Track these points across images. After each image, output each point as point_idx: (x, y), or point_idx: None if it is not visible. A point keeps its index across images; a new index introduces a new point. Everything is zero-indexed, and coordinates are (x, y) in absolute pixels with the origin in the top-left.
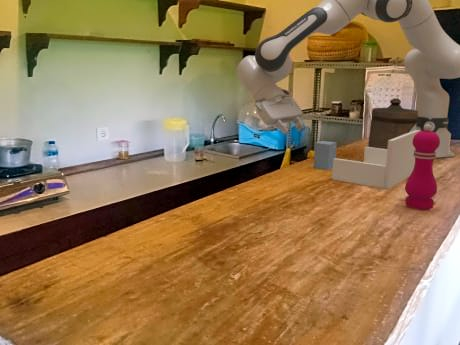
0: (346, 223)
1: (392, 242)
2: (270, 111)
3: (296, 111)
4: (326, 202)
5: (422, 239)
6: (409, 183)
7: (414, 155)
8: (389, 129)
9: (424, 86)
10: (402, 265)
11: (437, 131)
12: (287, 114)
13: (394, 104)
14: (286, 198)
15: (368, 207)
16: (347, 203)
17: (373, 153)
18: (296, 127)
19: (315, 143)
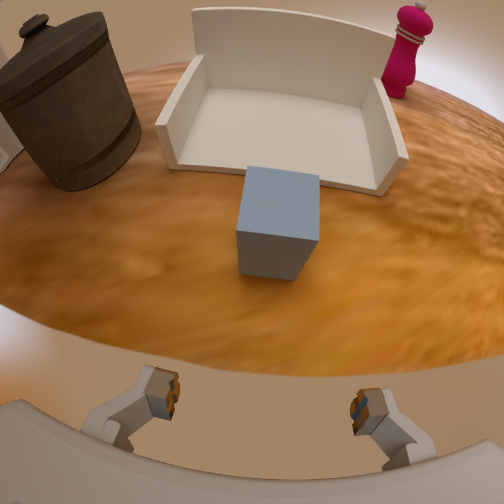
0: (490, 155)
1: (483, 124)
2: (498, 490)
3: (62, 458)
4: (470, 182)
5: (461, 104)
6: (414, 74)
7: (421, 43)
8: (110, 61)
9: None
10: (497, 124)
11: None
12: (288, 499)
13: (43, 26)
14: (497, 240)
15: (442, 134)
16: (452, 157)
17: (178, 117)
18: (172, 412)
19: (317, 238)
